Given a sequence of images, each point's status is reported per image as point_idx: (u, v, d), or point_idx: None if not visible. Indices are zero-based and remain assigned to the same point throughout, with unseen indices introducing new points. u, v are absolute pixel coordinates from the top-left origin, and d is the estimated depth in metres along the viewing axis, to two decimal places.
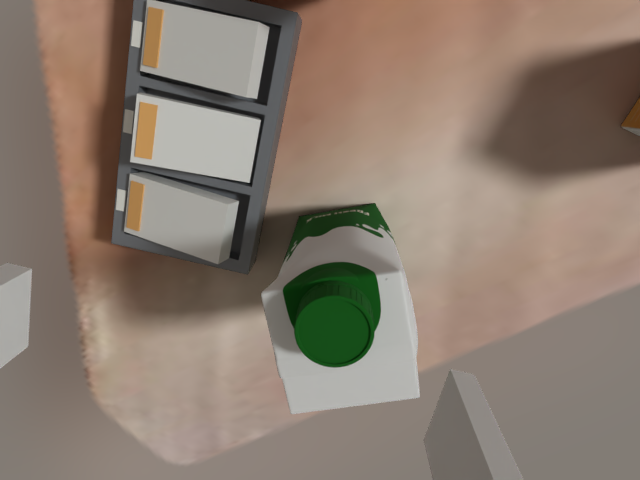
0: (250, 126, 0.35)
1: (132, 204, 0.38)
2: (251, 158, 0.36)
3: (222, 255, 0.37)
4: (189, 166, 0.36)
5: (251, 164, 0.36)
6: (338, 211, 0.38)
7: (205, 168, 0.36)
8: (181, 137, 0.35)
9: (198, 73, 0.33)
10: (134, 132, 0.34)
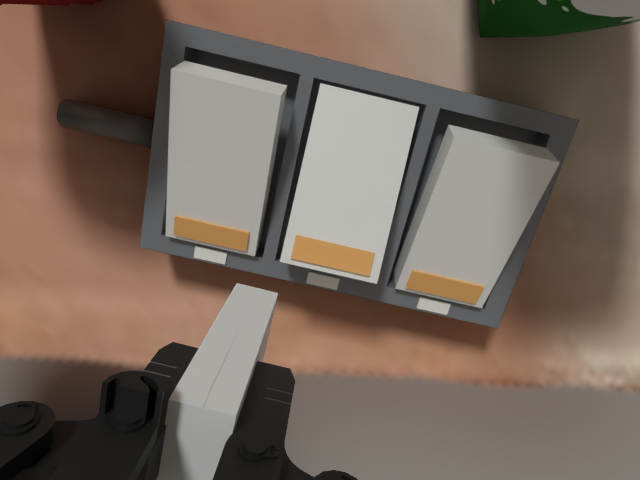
0: (329, 100, 0.23)
1: (441, 290, 0.25)
2: (380, 101, 0.23)
3: (543, 155, 0.21)
4: (388, 198, 0.23)
5: (389, 102, 0.23)
6: None
7: (392, 174, 0.23)
8: (343, 206, 0.23)
9: (251, 172, 0.23)
10: (334, 272, 0.23)
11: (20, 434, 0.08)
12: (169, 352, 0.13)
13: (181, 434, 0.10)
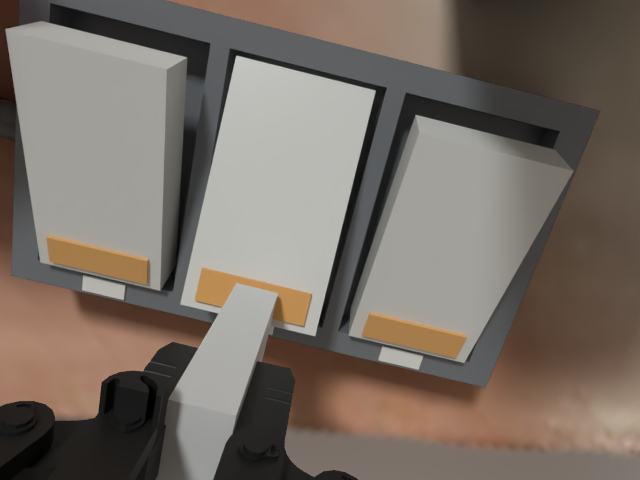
0: (249, 80, 0.16)
1: (409, 340, 0.19)
2: (320, 82, 0.16)
3: (549, 159, 0.15)
4: (331, 218, 0.16)
5: (333, 83, 0.16)
6: None
7: (337, 185, 0.16)
8: (269, 229, 0.16)
9: (140, 179, 0.16)
10: None
11: (20, 434, 0.08)
12: (169, 352, 0.12)
13: (180, 433, 0.10)
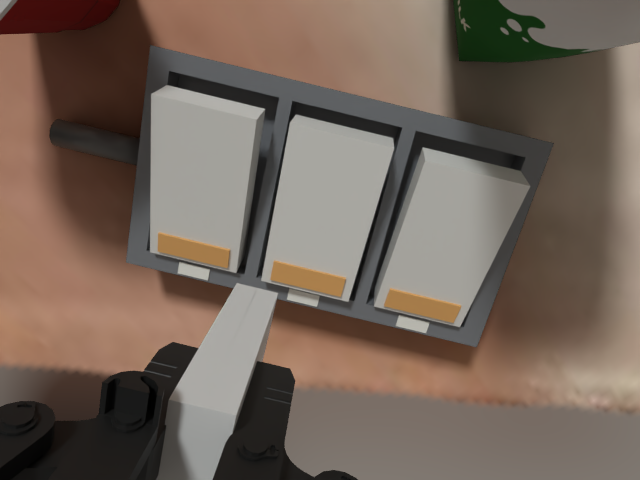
0: (299, 140, 0.22)
1: (419, 309, 0.26)
2: (352, 141, 0.22)
3: (514, 178, 0.22)
4: (359, 233, 0.24)
5: (362, 142, 0.22)
6: None
7: (364, 212, 0.23)
8: (316, 238, 0.24)
9: (230, 192, 0.23)
10: (309, 291, 0.26)
11: (20, 434, 0.08)
12: (169, 353, 0.12)
13: (181, 434, 0.10)
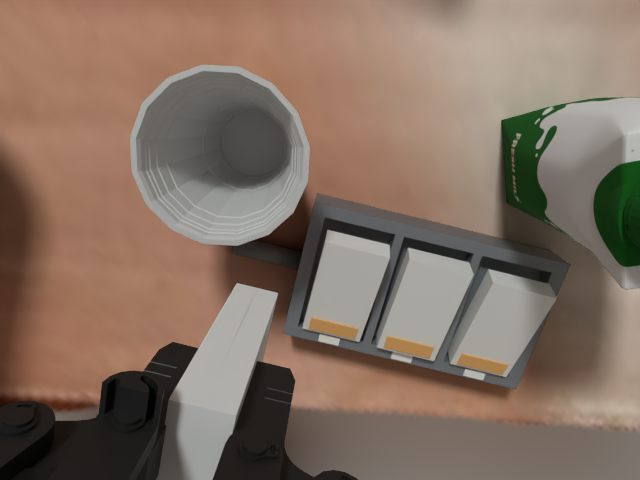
0: (414, 269, 0.35)
1: (480, 366, 0.39)
2: (447, 270, 0.35)
3: (547, 292, 0.35)
4: (446, 321, 0.37)
5: (454, 271, 0.35)
6: (510, 165, 0.35)
7: (450, 309, 0.36)
8: (417, 323, 0.37)
9: (365, 295, 0.37)
10: (408, 354, 0.39)
11: (20, 434, 0.08)
12: (169, 352, 0.13)
13: (181, 433, 0.10)
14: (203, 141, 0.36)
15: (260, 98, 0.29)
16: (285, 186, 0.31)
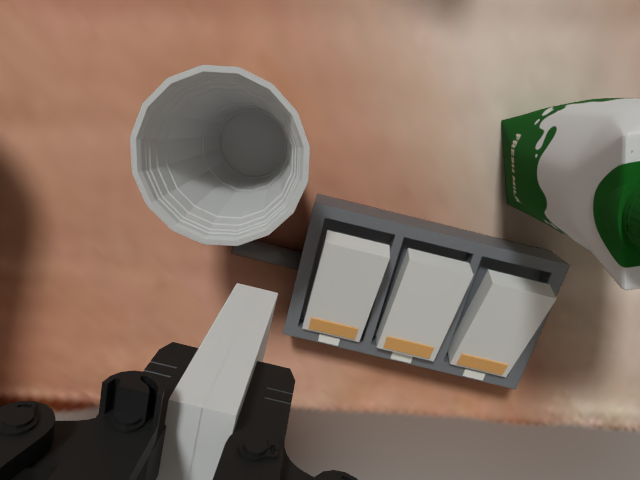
0: (414, 269, 0.35)
1: (480, 366, 0.39)
2: (447, 271, 0.35)
3: (546, 292, 0.35)
4: (445, 321, 0.37)
5: (454, 271, 0.35)
6: (509, 165, 0.35)
7: (450, 309, 0.37)
8: (417, 323, 0.37)
9: (365, 296, 0.37)
10: (408, 354, 0.39)
11: (20, 434, 0.08)
12: (169, 353, 0.13)
13: (181, 434, 0.10)
14: (204, 141, 0.36)
15: (260, 98, 0.29)
16: (285, 186, 0.31)
